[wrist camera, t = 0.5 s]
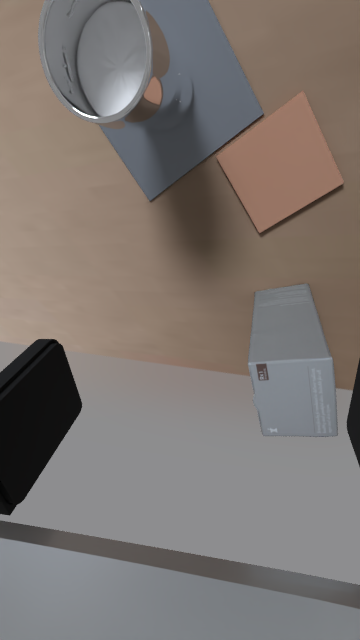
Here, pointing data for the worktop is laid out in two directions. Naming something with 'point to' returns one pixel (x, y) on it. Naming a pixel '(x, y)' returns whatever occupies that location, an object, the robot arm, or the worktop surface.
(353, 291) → the worktop surface
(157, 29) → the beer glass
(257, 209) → the coaster
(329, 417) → the skincare box
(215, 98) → the blue-grey tile
